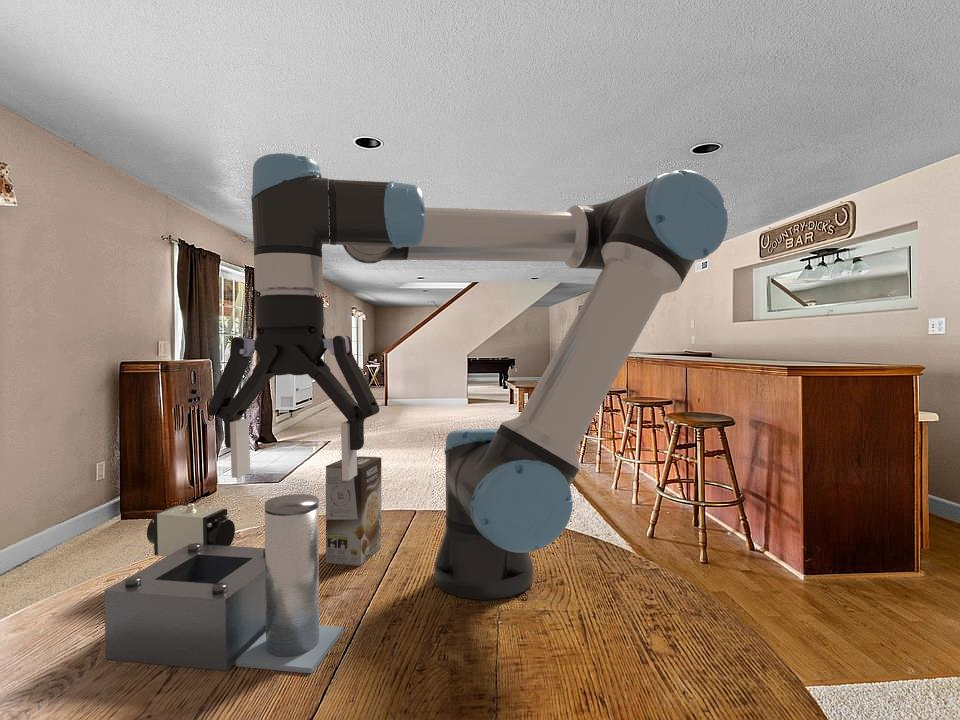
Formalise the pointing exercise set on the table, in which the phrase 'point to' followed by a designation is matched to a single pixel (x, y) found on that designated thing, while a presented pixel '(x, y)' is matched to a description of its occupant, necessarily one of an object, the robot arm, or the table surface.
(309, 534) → the metal cylinder
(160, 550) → the pneumatic valve
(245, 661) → the pad
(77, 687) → the table surface
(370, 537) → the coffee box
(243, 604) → the housing
